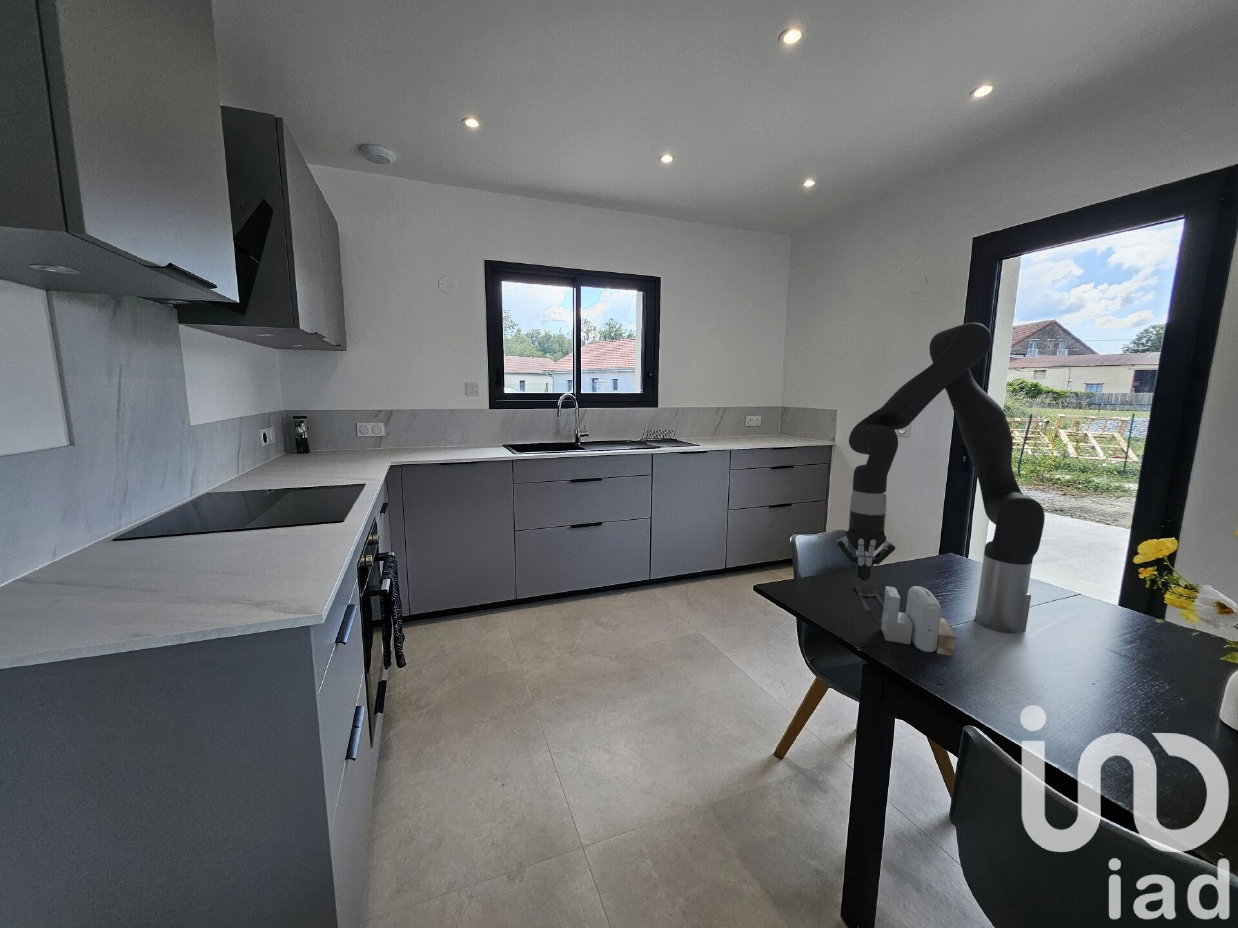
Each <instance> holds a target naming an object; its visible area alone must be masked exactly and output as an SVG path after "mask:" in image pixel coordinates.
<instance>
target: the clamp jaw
mask: <svg viewBox="0 0 1238 928" xmlns="http://www.w3.org/2000/svg"><path fill="white" fill-rule="evenodd" d="M884 590H885V591H884V594H885V595H884V596H883V597H884V599H883V601H884V607H882V608H883V610H882V617H881V620H882V621H881V627H880V629H881V631H882V635H883V638H884V640H885V641H887V642H892V643H893V642H894V643H898V644H899V643H900V644H906V645H911V642H912V640H911V634H912V626H913V625H912V623H911V621H910V619H909V617H908V615H907V613H906V612H901V611H900V604H901V596H900V595H899V592H898V589H897V588H896V587H894V586H886V585H885V588H884Z"/></svg>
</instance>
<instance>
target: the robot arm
mask: <svg viewBox="0 0 1238 928" xmlns="http://www.w3.org/2000/svg"><path fill="white" fill-rule="evenodd" d="M992 337H993V336H992V334H991V331H990V330H989V328H988V327H986V325H984V324H982V323H979V322H968V323H967V322H966V323H964V324H959V325H957V326H954V327H951V328H948V329H945V330H941V331H939V332H937V333H936V334H935V335H934V336H933V337H932V338H931V340H930V343H929V348H928V349H929V354H930V355H929V357H930V359H931V362H932V364H930V365H929V366H928V367H927V368H925V369H924V370H922V371H920V372H919V373H918V374H916V375H915V376H914V377H912V378H911V379H909V380H908V381H907V382H906V383H904V384H903V385H902V386H900V388H898V390H896V391H895V392H894V393H893V394H892V395H891V396H890V398H889V399H888V400H887V401H886V402H885V403H884V404H883V405H882V407H880V408H878V409H876V410H875V411H874V412H872V413H870V414H869V415H868V416H866V417H865V418H863V419H862V420H860V421H859V422H858V423H857V424H856V425H855V426H854V427H853V428H852V430H851V432H850V434H849V437H848V444H849V445H848V446H849V447H850V448H851V449H852V450H853V451H854V452H856V453H858V454H862V455H868V457H867V461H866V463H865V464H859V465H857V466H856V467H855V468H854V472H853V480H852V489H851V490H852V492H851V496H850V502H849V504H850V505H849V519H848V523H849V524H848V530H847V531H846V532H845V536H842V537H840V538H837V539H836V543H837V546H838V547H839V548H840V550H841V551H842V553H844V555H845V556H846V558H847V559H848V560H849V561H850V562H851V563H855V564H856V569H855V571H856V573H855V574H856V577H857V578H858V579H859V581H866V582H867V581H868V580H869V579H870V578H871V572H872V571H871V570H872V566H873V565H874V566H875V565H880V564H881V563H882V562H883V561H885V560H886V559H887V558H888V557H889V556H890V555H891V554H892V553H893V552H894V551H895V550H896V546H895V545H894V543H893V542H890V541H888V539H887V536H886V533H885V527H886V513H887V502H888V501H887V486H888V485H887V484H888V474H889V472H890V470H891V467H892V465H893V461H894V459H895V457H896V454H897V451H898V447H899V437H898V434H897V432H896V430H902V429H905V428H907V427H908V426H909V425H910V424H911V423H912V422H913V421H914V420H915V419H916V418H918V416H919V415H920V414H921V412H922V411H924V409H925V408H926V407H927V406H928V405H929V404H930V403H931V402H932V401H933V400H934V399H935V398H936V397H937V396H938V395H939V394H940V393H941V392H942V391H944V389H945V391H946V394H947V397H948V399H949V402H950V405H951V407H952V409H953V413H954V415H955V418H956V421H957V423H958V425H957V426H958V428H959V432H960V434H961V438H962V441H963V442H964V446H965V448H966V450H967V453H968V456H969V458H970V459H969V460H970V461H971V464H972V467H973V469H974V471H975V474H976V476H977V479H978V485H979V488H980V493H981V497H982V503H983V508H984V511H985V515H986V517H987V518H988V520H989V521H990V522H991V523H993V524H994V525H995V529H994V534H993V539H992V540H991V541H987V543H985V545H984V551H983V559H982V565H981V572H980V580H979V589H978V594H977V602H976V609H975V615H974V618H975V621H976V622H977V623H978V624H980V625H982V626H983V627H986V628H989V629H992V630H995V631H999V632H1002V633H1021V632H1022V633H1026V630H1027V625H1028V618H1029V614H1030V613H1029V611H1030V605H1031V600H1032V599H1031V598H1032V595H1031V594H1030V593H1029V587H1030V586H1029V585H1030V579H1031V573H1032V567H1033V565H1032V564H1033V560H1034V557H1035V555H1036V554H1037V553H1038V551H1039V548H1040V545H1041V540H1042V536H1043V531H1044V526H1045V518H1046V517H1045V510H1044V507H1043V506H1042V505H1041V504H1042V503H1040V502H1038V500H1036V499H1034V498H1033V497H1031V496H1028V495H1025V494H1023V492H1022V490H1021V489H1020V486H1019V484H1018V482H1017V480H1016V476H1015V475H1014V471H1013V466H1012V461H1013V460H1012V459H1013V447H1014V442H1013V436H1012V435H1013V434H1012V431H1011V428H1010V425H1009V422H1008V419H1007V416H1006V413H1005V412H1004V409H1003V408H1002V407H1001V406H1000V405H999V403H997V402H996V400H994V399H993V397H992V396H990V395H989V394H988V393H987V392H985V390H983V389H982V388H981V386H980V385H979V384H978V383H977V381H976V380H975V379H974V376H973V375H972V371H971V369H970V368H972V367H973V366H974V365H975V364H977V363H979V362H980V361H981V360H982V359H983V358H984V357H985V356H986V355H987V354H988V353H989V351H990V350H991V347H992V342H993V341H992V339H993V338H992ZM848 542H849V543H850V544H851V545H852V547H853V548H854V549H855V554H856V555H854V554H853V552H852V551H851V550H850V549H849V547H848V546H849V543H848ZM880 547H882V549H880V550H879V551H878V552H877V553H876V554H875V552H876V551H877V550H878V549H879V548H880Z"/></svg>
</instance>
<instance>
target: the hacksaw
mask: <svg viewBox="0 0 1238 928" xmlns="http://www.w3.org/2000/svg"><path fill="white" fill-rule="evenodd" d="M853 589H854V590H855V592H856V593H857V595H858V598H859V600H860V602H861V604H862V606H863V608H864V609H865V611H866V610H868V611H871V609H870V607H869V605H868V603H867V600H866V599H865V598H873V597H875V598H876V600H877V601H878V603H879V605H880V606H881V608H883V607H884V599H883V598H882V597H881V595H880V594H879V593H882V594H883V596H885V592H883V591H879V590H876V591H874V592H873V593H869V594H866V593H865V594H864V593H863V592H862V591H863V589H864V588H863V587H862V586H861V585H860V584H855V585H853ZM875 621H880V622H882V619H875Z"/></svg>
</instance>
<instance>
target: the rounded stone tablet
mask: <svg viewBox="0 0 1238 928" xmlns="http://www.w3.org/2000/svg"><path fill="white" fill-rule="evenodd" d="M905 606H906V608H905V613H907V615H908V617H909V619H910V621H911V623H912V625H913V626H912V634H911V642H912V643H913V644H914V645H915V647H916V648H917V649H919V650H920V651H922V652H925V653H933V652H934V651H936V648H937V641H938V634H939V627H940V620H941V618H942V607H941V605H940V603H939V601H938V599H937V598H936V597H935V595H934V594H933V593H932V592H931V591H930V590H928V589H927V588H926V587H923V586H916V585H914V586H911V587H910V588H909V590H908V591H907V599H906V605H905Z"/></svg>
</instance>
